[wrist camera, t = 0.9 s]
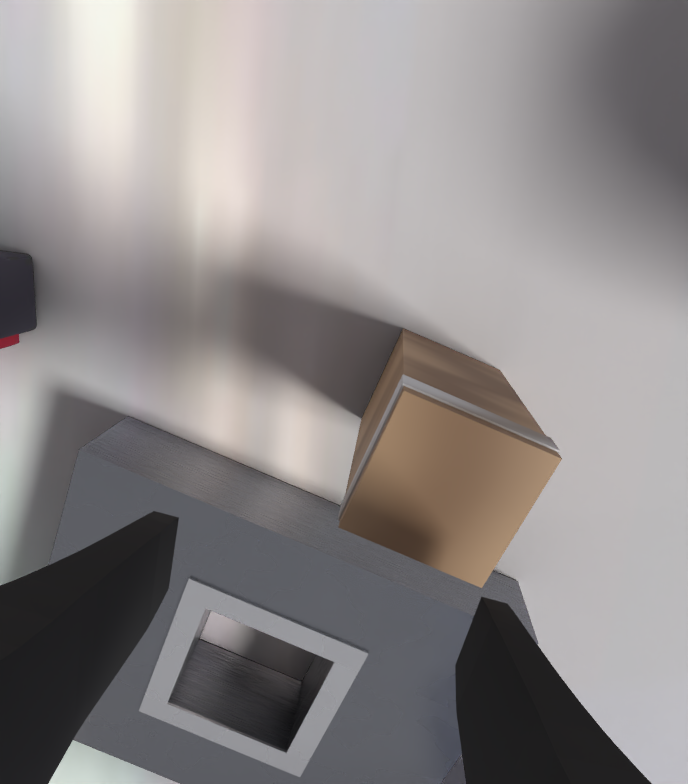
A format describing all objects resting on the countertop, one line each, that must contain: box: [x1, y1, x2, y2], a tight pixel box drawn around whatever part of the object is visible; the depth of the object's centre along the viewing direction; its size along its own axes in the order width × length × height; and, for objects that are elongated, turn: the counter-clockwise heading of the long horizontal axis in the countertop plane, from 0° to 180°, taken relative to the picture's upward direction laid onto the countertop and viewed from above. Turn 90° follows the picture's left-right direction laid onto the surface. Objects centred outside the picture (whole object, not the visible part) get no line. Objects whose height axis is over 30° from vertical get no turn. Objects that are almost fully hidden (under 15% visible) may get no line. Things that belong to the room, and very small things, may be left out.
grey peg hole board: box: [49, 416, 538, 784], centre depth 22 cm, size 18×14×4 cm
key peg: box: [338, 328, 562, 588], centre depth 16 cm, size 4×4×8 cm
